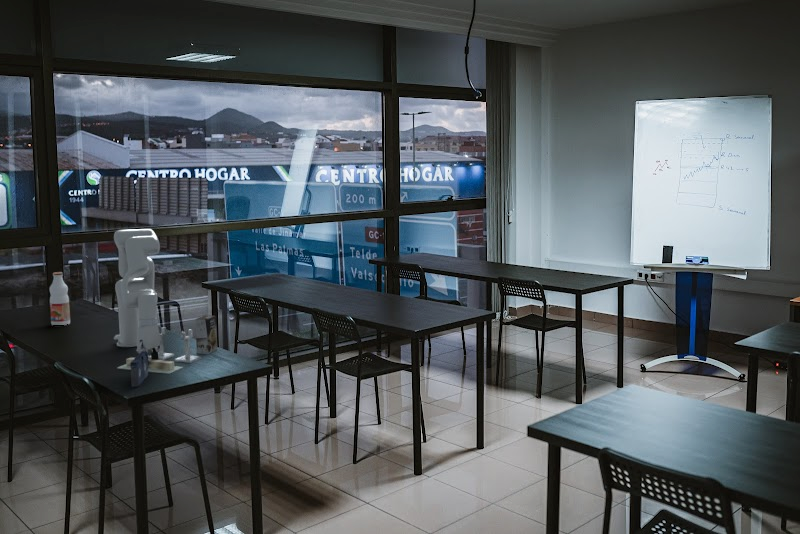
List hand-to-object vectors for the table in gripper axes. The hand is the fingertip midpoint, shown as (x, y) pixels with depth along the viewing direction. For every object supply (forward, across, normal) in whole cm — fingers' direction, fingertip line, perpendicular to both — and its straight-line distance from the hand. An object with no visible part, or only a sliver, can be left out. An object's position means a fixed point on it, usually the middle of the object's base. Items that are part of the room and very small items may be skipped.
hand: (150, 363), depth 337 cm
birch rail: (+2, 0, 0) cm, 2 cm away
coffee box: (+2, -33, +6) cm, 34 cm away
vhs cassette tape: (+2, +17, +8) cm, 19 cm away
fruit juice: (+2, -59, -102) cm, 118 cm away
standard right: (+2, -17, +7) cm, 18 cm away
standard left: (+2, -17, -7) cm, 18 cm away
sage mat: (+2, 0, 0) cm, 2 cm away
